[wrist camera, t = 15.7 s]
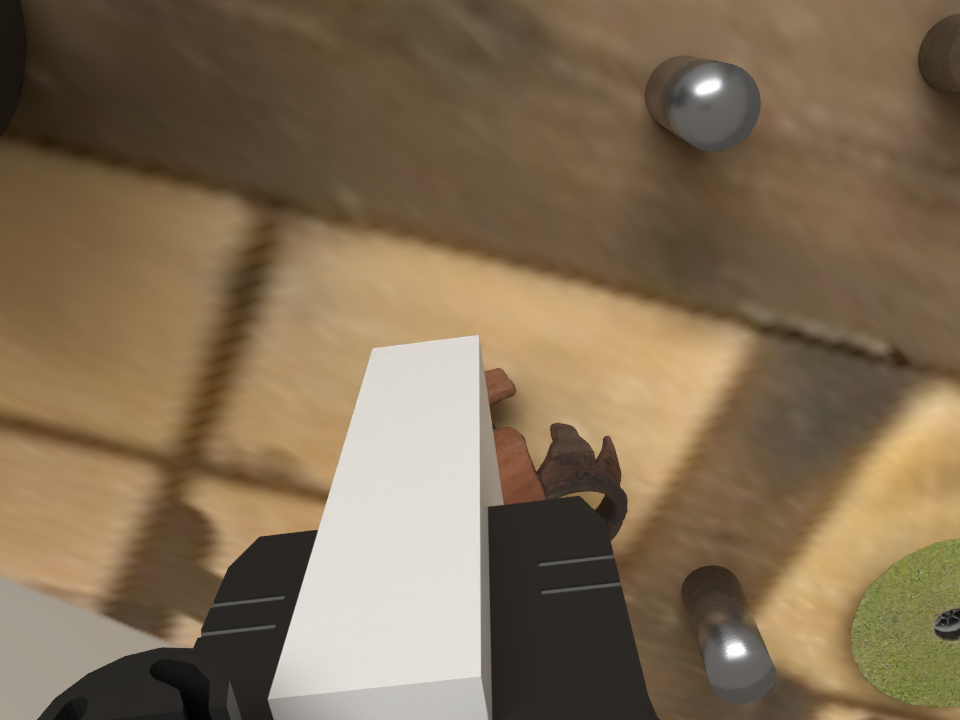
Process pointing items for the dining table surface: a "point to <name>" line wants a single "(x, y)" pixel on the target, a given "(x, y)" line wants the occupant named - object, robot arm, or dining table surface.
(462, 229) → the dining table surface
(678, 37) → the dining table surface
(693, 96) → the posts
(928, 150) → the dining table surface
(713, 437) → the dining table surface
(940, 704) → the green disc
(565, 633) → the robot arm
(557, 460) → the pottery mug
